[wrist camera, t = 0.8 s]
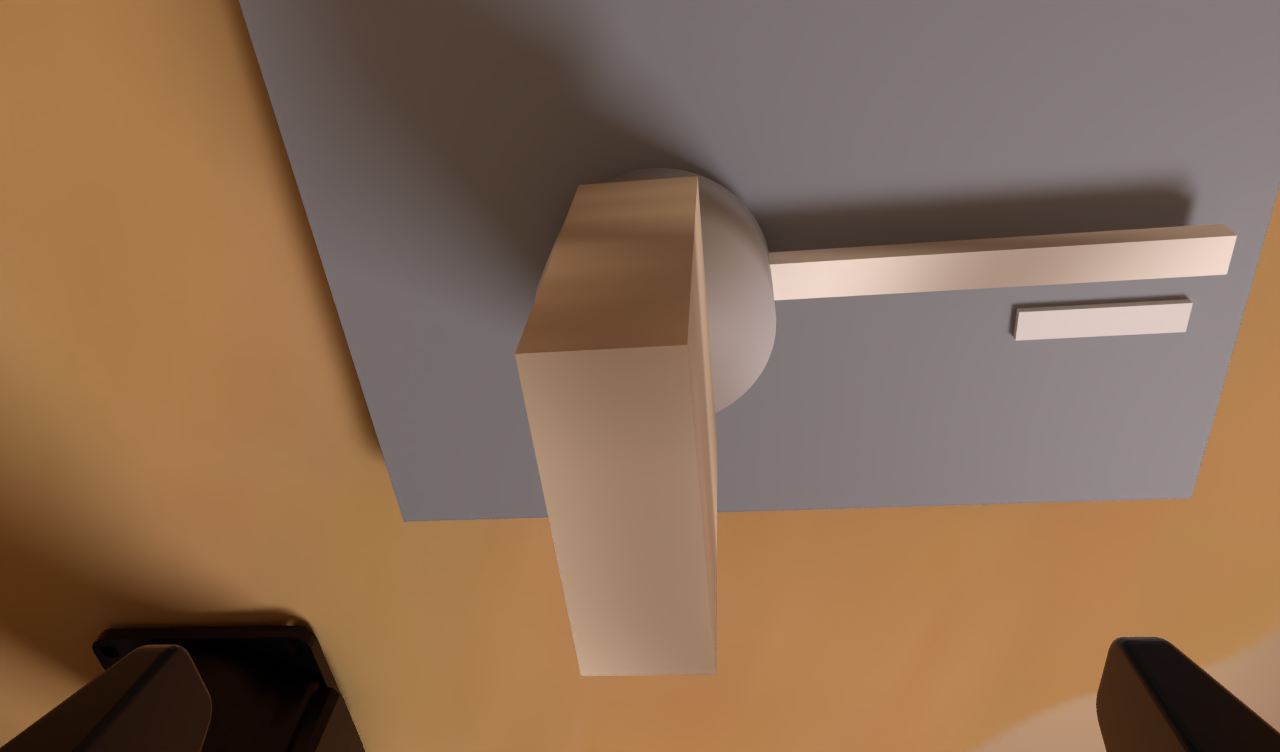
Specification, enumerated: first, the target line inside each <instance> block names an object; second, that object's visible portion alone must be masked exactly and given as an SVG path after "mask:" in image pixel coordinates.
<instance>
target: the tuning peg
mask: <svg viewBox="0 0 1280 752" xmlns="http://www.w3.org/2000/svg"><path fill="white" fill-rule="evenodd" d="M1236 238H1237V235H1236V234H1235V233H1233V232H1232V231H1231V230H1230V229H1228V228H1227V227H1226V226H1225V225H1224V224H1209V225H1194V226H1178V227H1162V228H1147V229H1131V230H1115V231H1099V232H1084V233H1068V234H1052V235H1037V236H1021V237H1005V238H989V239H974V240H958V241H942V242H927V243H911V244H895V245H880V246H864V247H848V248H832V249H817V250H801V251H785V252H770V253H769V251H768V247H767V243H766V240H765V237H764V235H763V232H762V230H761V228H760V226H759V224H758V223H757V221H756V219H755V217H754V216H753V215H752V213H751V212H750V211H749V210H748V208H747V207H746V206H745V205H744V204H743V203H742V202H741V201H740V200H739V199H738V198H737V197H736V196H735V195H734V194H733V193H731V192H730V191H728V190H727V189H726V188H724V187H723V186H721V185H720V184H718V183H716V182H714V181H712V180H710V179H708V178H706V177H703V176H701V175H698V174H695V173H692V172H688V171H683V170H679V169H670V168H647V169H640V170H634V171H630V172H627V173H623V174H620V175H617V176H615V177H613V178H610V179H608V180H606V181H604V182H603V183H600V184H586V185H579V186H578V188H577V191H576V194H575V196H574V199H573V201H572V204H571V207H570V209H569V212H568V215H567V216H566V218H565V220H564V222H563V224H562V226H561V228H560V230H559V232H558V235H557V237H556V240H555V243H554V245H553V248H552V250H551V253H550V256H549V258H548V261H547V263H546V266H545V269H544V271H543V274H542V276H541V279H540V282H539V285H538V288H537V291H536V296H535V301H534V304H533V307H532V310H531V312H530V315H529V318H528V320H527V323H526V325H525V328H524V331H523V333H522V336H521V339H520V341H519V344H518V347H517V349H516V352H515V358H516V363H517V367H518V372H519V377H520V382H521V387H522V392H523V397H524V401H525V406H526V411H527V416H528V421H529V426H530V431H531V435H532V440H533V445H534V450H535V455H536V460H537V465H538V469H539V474H540V479H541V484H542V489H543V494H544V499H545V503H546V508H547V513H548V518H549V523H550V528H551V533H552V537H553V542H554V547H555V552H556V557H557V562H558V567H559V571H560V576H561V581H562V586H563V591H564V596H565V601H566V605H567V610H568V615H569V620H570V625H571V630H572V635H573V639H574V644H575V649H576V654H577V659H578V664H579V669H580V673H581V676H626V675H716V619H717V435H716V421H715V413H717V412H719V411H721V410H722V409H724V408H726V407H727V406H729V405H731V404H732V403H734V402H735V401H736V400H737V399H738V398H740V397H741V396H742V395H743V394H744V393H745V392H746V391H747V390H748V389H749V388H750V387H751V386H752V385H753V384H754V383H755V381H756V380H757V379H758V377H759V376H760V374H761V373H762V371H763V369H764V368H765V366H766V364H767V362H768V360H769V357H770V354H771V351H772V349H773V345H774V340H775V335H776V311H775V302H774V300H791V299H809V298H826V297H844V296H861V295H878V294H896V293H913V292H931V291H948V290H966V289H983V288H1001V287H1018V286H1036V285H1053V284H1070V283H1088V282H1105V281H1123V280H1140V279H1158V278H1175V277H1193V276H1210V275H1227V272H1228V268H1229V264H1230V261H1231V257H1232V253H1233V249H1234V245H1235V242H1236Z"/></svg>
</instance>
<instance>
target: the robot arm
mask: <svg viewBox="0 0 1280 752" xmlns="http://www.w3.org/2000/svg"><path fill="white" fill-rule="evenodd" d="M92 648H93V651H94V653H95V655H96V657H97V658H98V660H99V661H100V663H101V665H102V666H103V668H104V669H105V671H104V672H103V673H101V674H100V675H99V676H97V677H96V678H95V679H93V680H92V681H91V682H89V683H88V684H87V685H85V686H84V687H82V688H81V689H80V690H78V691H77V692H76V693H74V694H73V695H72V696H70V697H69V698H67V699H66V700H65V701H63V702H62V703H61V704H59V705H58V706H57V707H55V708H54V709H53V710H51V711H50V712H48V713H47V714H46V715H44V716H43V717H42V718H40V719H39V720H38V721H36V722H35V723H33V724H32V725H31V726H29V727H28V728H27V729H25V730H24V731H23V732H21V733H20V734H19V735H17V736H16V737H14V738H13V739H12V740H10V741H9V742H8V743H6V744H5V745H4V746H2V747H1V748H0V752H365V751H364V749H363V744H362V742H361V740H360V737H359V735H358V732H357V730H356V728H355V725H354V723H353V721H352V718H351V716H350V713H349V711H348V709H347V706H346V704H345V702H344V699H343V697H342V695H341V693H340V692H339V689H338V687H337V685H336V682H335V680H334V678H333V675H332V673H331V671H330V668H329V666H328V663H327V661H326V659H325V656H324V654H323V652H322V649H321V647H320V644H319V642H318V640H317V638H316V636H315V635H314V633H312V632H311V631H310V630H308V629H306V628H303V627H300V626H253V627H188V628H123V629H106V630H104V631H103V632H102V633H101V634H100V635H99V637H98V638H97V639H96V640H95V642H94V643H93V646H92ZM1096 708H1097V716H1098V722H1099V726H1100V730H1101V733H1102V737H1103V740H1104V744H1105V748H1106V751H1107V752H1280V733H1279V732H1278V731H1277V730H1276V729H1274V728H1273V727H1272V726H1271V725H1269V724H1268V723H1267V722H1266V721H1264V720H1263V719H1262V718H1261V717H1260V716H1259V715H1257V714H1256V713H1255V712H1254V711H1253V710H1251V709H1250V708H1249V707H1248V706H1246V705H1245V704H1244V703H1243V702H1242V701H1240V700H1239V699H1238V698H1237V697H1236V696H1234V695H1233V694H1232V693H1231V692H1230V691H1228V690H1227V689H1226V688H1224V686H1222V685H1221V684H1220V683H1219V682H1217V681H1216V680H1215V679H1214V678H1213V677H1211V676H1210V675H1209V674H1208V673H1207V672H1205V671H1204V670H1203V669H1202V668H1201V667H1199V666H1198V665H1197V664H1196V663H1194V662H1193V661H1192V660H1191V659H1190V658H1188V657H1187V656H1186V655H1185V654H1184V653H1182V652H1181V651H1180V650H1179V649H1178V648H1176V647H1175V646H1174V645H1173V644H1171V643H1170V642H1168V641H1166V640H1164V639H1162V638H1158V637H1121V638H1117V639H1116V640H1114V641H1113V642H1112V644H1111V646H1110V648H1109V651H1108V655H1107V659H1106V663H1105V667H1104V670H1103V674H1102V678H1101V682H1100V686H1099V689H1098V693H1097V701H1096Z"/></svg>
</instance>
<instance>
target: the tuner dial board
mask: <svg viewBox="0 0 1280 752" xmlns="http://www.w3.org/2000/svg"><path fill="white" fill-rule="evenodd" d="M239 3H240V6H241V9H242V13H243V16H244V19H245V22H246V25H247V28H248V31H249V35H250V38H251V41H252V44H253V47H254V50H255V54H256V57H257V60H258V63H259V66H260V69H261V72H262V76H263V79H264V82H265V85H266V88H267V91H268V95H269V98H270V101H271V104H272V107H273V110H274V113H275V117H276V120H277V123H278V126H279V129H280V132H281V135H282V139H283V142H284V145H285V148H286V151H287V154H288V158H289V161H290V164H291V167H292V170H293V173H294V176H295V180H296V183H297V186H298V189H299V192H300V195H301V199H302V202H303V205H304V208H305V211H306V214H307V217H308V221H309V224H310V227H311V230H312V233H313V236H314V239H315V243H316V246H317V249H318V252H319V255H320V258H321V262H322V265H323V268H324V271H325V274H326V277H327V280H328V284H329V287H330V290H331V293H332V296H333V299H334V303H335V306H336V309H337V312H338V315H339V318H340V321H341V325H342V328H343V331H344V334H345V337H346V340H347V343H348V347H349V350H350V353H351V356H352V359H353V362H354V366H355V369H356V372H357V375H358V378H359V381H360V384H361V388H362V391H363V394H364V397H365V400H366V403H367V407H368V410H369V413H370V416H371V419H372V422H373V425H374V429H375V432H376V435H377V438H378V441H379V444H380V447H381V451H382V454H383V457H384V460H385V463H386V466H387V470H388V473H389V476H390V479H391V482H392V485H393V488H394V492H395V495H396V498H397V501H398V504H399V507H400V511H401V514H402V517H403V520H404V522H407V521H440V520H474V519H508V518H541V517H548V513H547V508H546V503H545V499H544V494H543V489H542V484H541V479H540V474H539V469H538V465H537V460H536V455H535V450H534V445H533V440H532V435H531V431H530V426H529V421H528V416H527V411H526V406H525V401H524V397H523V392H522V387H521V382H520V377H519V372H518V367H517V363H516V358H515V352H516V349H517V347H518V344H519V341H520V339H521V336H522V333H523V331H524V328H525V325H526V323H527V320H528V318H529V315H530V312H531V310H532V307H533V304H534V301H535V296H536V291H537V288H538V285H539V282H540V279H541V276H542V274H543V271H544V269H545V266H546V263H547V261H548V258H549V256H550V253H551V250H552V248H553V245H554V243H555V240H556V237H557V235H558V232H559V230H560V228H561V226H562V224H563V222H564V220H565V218H566V216H567V215H568V212H569V209H570V207H571V204H572V201H573V199H574V196H575V194H576V191H577V188H578V186H579V185H586V184H600V183H603V182H604V181H606V180H608V179H610V178H613V177H615V176H617V175H620V174H623V173H627V172H630V171H634V170H640V169H647V168H670V169H679V170H683V171H688V172H692V173H695V174H698V175H701V176H703V177H706V178H708V179H710V180H712V181H714V182H716V183H718V184H720V185H721V186H723V187H724V188H726V189H727V190H728V191H730V192H731V193H733V194H734V195H735V196H736V197H737V198H738V199H739V200H740V201H741V202H742V203H743V204H744V205H745V206H746V207H747V208H748V210H749V211H750V212H751V213H752V215H753V216H754V217H755V219H756V221H757V223H758V224H759V226H760V228H761V230H762V232H763V235H764V237H765V240H766V243H767V247H768V251H769V253H770V252H785V251H801V250H817V249H832V248H848V247H864V246H880V245H895V244H911V243H927V242H942V241H958V240H974V239H989V238H1005V237H1021V236H1037V235H1052V234H1068V233H1084V232H1099V231H1115V230H1131V229H1147V228H1162V227H1178V226H1194V225H1209V224H1224V225H1225V226H1226V227H1227V228H1228V229H1230V230H1231V231H1232V232H1233V233H1235V234H1236V235H1237V238H1236V242H1235V245H1234V249H1233V253H1232V257H1231V261H1230V264H1229V268H1228V272H1227V275H1210V276H1193V277H1175V278H1158V279H1140V280H1123V281H1105V282H1088V283H1070V284H1053V285H1036V286H1018V287H1001V288H983V289H966V290H948V291H931V292H913V293H896V294H878V295H861V296H844V297H826V298H809V299H791V300H774V302H775V311H776V335H775V340H774V345H773V349H772V351H771V354H770V357H769V360H768V362H767V364H766V366H765V368H764V369H763V371H762V373H761V374H760V376H759V377H758V379H757V380H756V381H755V383H754V384H753V385H752V386H751V387H750V388H749V389H748V390H747V391H746V392H745V393H744V394H743V395H742V396H741V397H740V398H738V399H737V400H736V401H735V402H734V403H732V404H731V405H729V406H727V407H726V408H724V409H722V410H721V411H719V412H717V413H715V421H716V435H717V512H743V511H777V510H811V509H845V508H878V507H912V506H946V505H979V504H1013V503H1047V502H1080V501H1114V500H1148V499H1181V498H1192V494H1193V491H1194V487H1195V484H1196V480H1197V477H1198V473H1199V470H1200V466H1201V463H1202V459H1203V455H1204V452H1205V448H1206V445H1207V441H1208V438H1209V434H1210V431H1211V427H1212V424H1213V420H1214V416H1215V413H1216V409H1217V406H1218V402H1219V399H1220V395H1221V392H1222V388H1223V385H1224V381H1225V377H1226V374H1227V370H1228V367H1229V363H1230V360H1231V356H1232V353H1233V349H1234V345H1235V342H1236V338H1237V335H1238V331H1239V328H1240V324H1241V321H1242V317H1243V314H1244V310H1245V306H1246V303H1247V299H1248V296H1249V292H1250V289H1251V285H1252V282H1253V278H1254V275H1255V271H1256V267H1257V264H1258V260H1259V257H1260V253H1261V250H1262V246H1263V243H1264V239H1265V236H1266V232H1267V228H1268V225H1269V221H1270V218H1271V214H1272V211H1273V207H1274V204H1275V200H1276V197H1277V193H1278V189H1279V186H1280V0H239Z"/></svg>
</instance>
